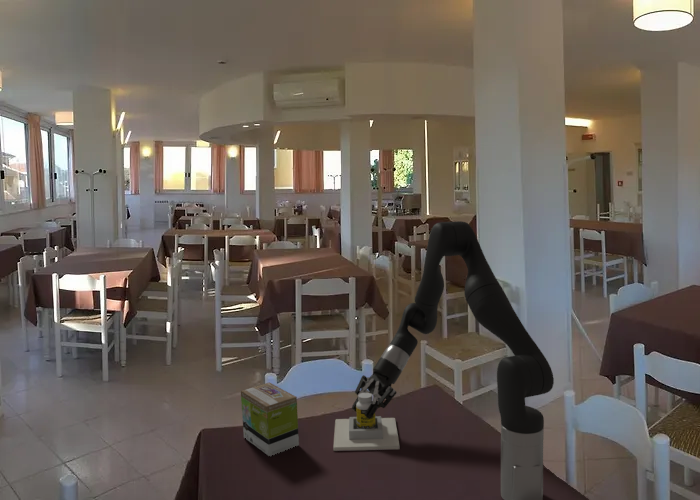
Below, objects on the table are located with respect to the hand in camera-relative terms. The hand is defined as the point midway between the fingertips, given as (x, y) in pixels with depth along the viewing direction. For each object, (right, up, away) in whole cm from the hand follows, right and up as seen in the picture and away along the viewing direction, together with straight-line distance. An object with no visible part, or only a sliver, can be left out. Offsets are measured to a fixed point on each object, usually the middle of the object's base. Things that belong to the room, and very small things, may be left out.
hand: (360, 413), depth 159 cm
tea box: (-26, -8, -1) cm, 27 cm away
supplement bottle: (+2, -5, +2) cm, 5 cm away
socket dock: (+1, -7, +2) cm, 7 cm away
